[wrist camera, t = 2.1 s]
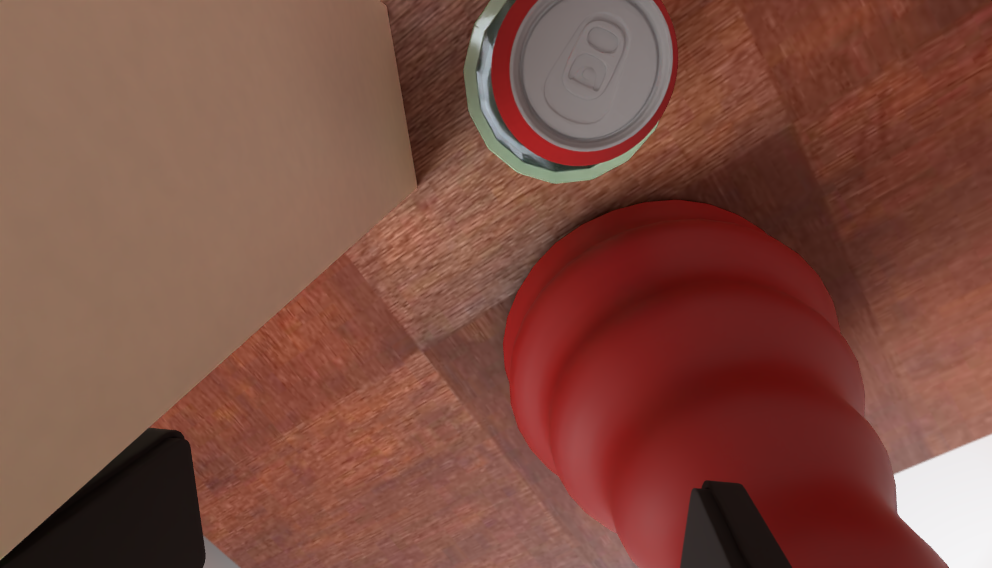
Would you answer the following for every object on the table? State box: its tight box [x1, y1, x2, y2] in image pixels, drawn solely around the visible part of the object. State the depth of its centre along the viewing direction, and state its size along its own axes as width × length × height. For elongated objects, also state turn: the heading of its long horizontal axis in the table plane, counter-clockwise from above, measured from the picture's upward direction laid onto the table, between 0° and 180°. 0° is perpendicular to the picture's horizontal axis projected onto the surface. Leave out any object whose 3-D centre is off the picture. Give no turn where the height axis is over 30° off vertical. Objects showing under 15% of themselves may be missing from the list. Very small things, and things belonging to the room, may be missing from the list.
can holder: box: [463, 0, 660, 184], centre depth 25 cm, size 10×10×6 cm
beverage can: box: [491, 0, 678, 166], centre depth 21 cm, size 7×7×12 cm
